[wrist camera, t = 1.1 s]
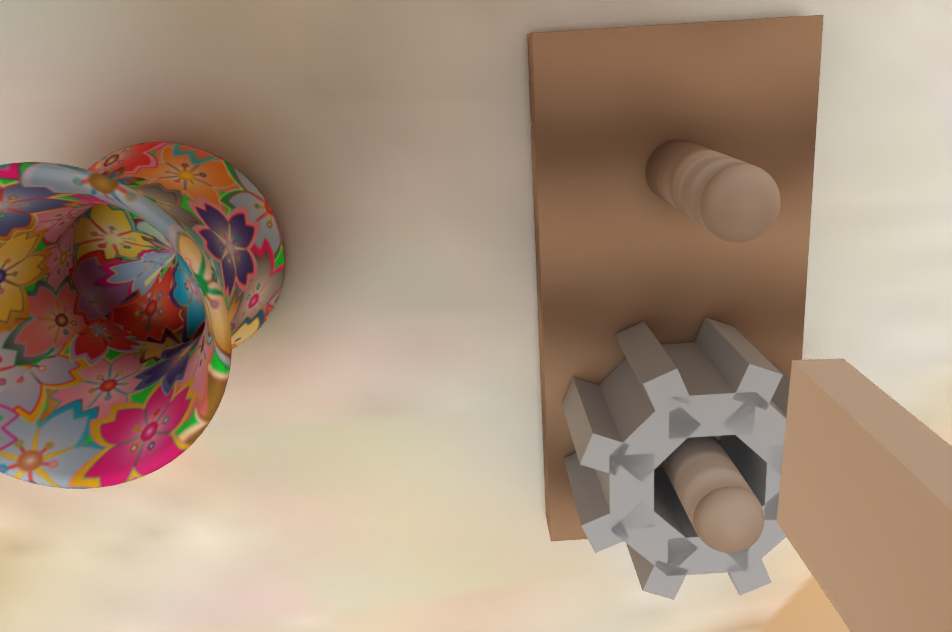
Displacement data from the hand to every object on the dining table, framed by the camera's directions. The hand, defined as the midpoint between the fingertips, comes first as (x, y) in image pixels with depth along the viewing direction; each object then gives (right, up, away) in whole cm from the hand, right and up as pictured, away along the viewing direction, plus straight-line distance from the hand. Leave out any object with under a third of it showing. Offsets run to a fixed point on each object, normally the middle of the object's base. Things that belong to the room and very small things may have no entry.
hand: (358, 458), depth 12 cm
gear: (+10, -2, +20) cm, 23 cm away
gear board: (+9, +3, +21) cm, 23 cm away
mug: (-11, +4, +20) cm, 23 cm away
